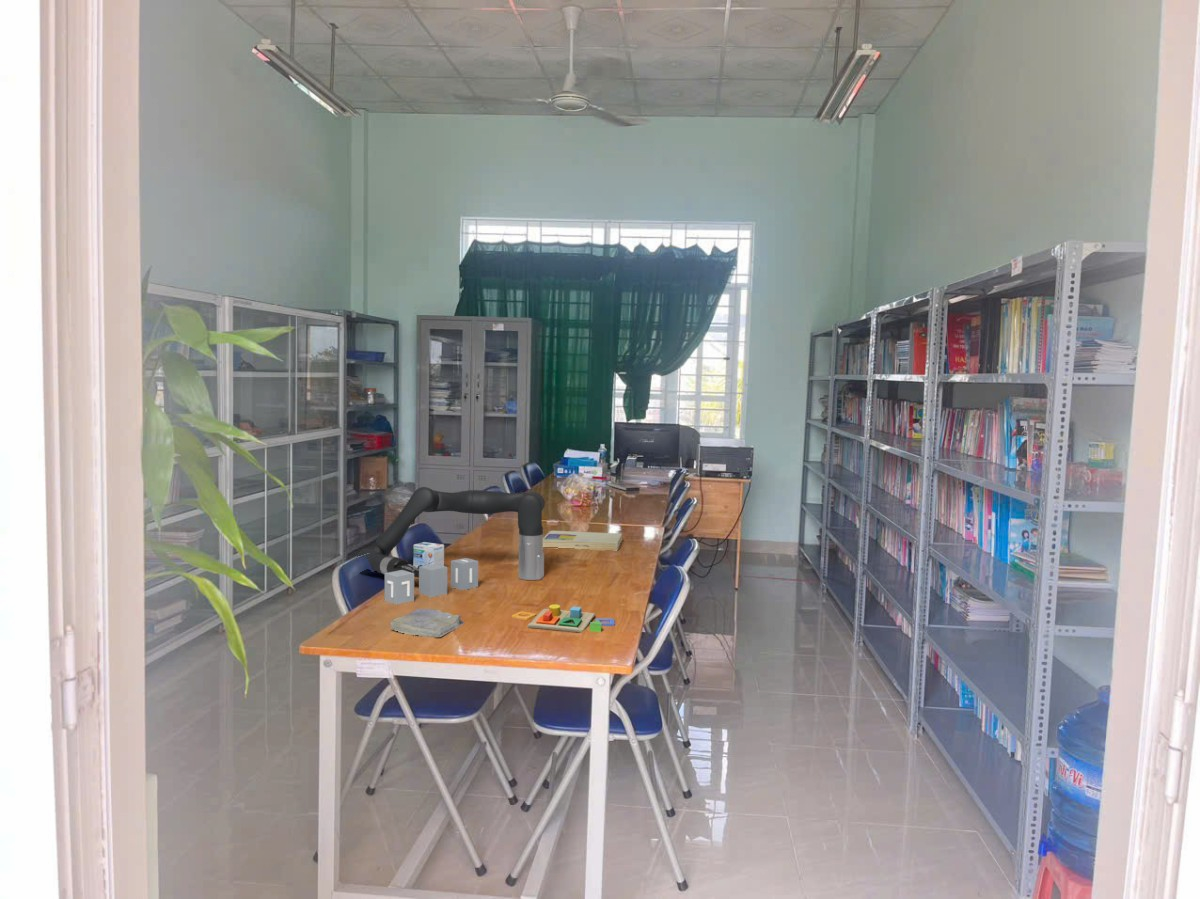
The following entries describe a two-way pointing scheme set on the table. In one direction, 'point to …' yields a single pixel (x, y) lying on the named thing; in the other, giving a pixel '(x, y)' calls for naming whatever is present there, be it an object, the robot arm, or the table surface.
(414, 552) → the light bulb box
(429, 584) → the plain block
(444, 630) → the fossil
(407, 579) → the block marked 7
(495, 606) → the table surface
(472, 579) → the block marked 1
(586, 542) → the puzzle box
